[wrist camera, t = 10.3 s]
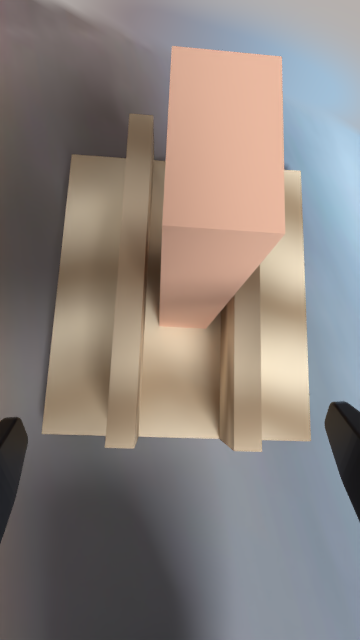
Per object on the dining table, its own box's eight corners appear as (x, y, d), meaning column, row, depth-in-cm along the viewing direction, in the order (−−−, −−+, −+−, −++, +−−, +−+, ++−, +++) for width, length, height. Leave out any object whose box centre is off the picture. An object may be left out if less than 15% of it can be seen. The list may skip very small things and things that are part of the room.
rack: (301, 438, 19) (346, 453, 15) (48, 430, 19) (13, 445, 14) (293, 182, 22) (328, 129, 18) (76, 167, 22) (54, 107, 17)
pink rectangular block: (206, 328, 19) (285, 233, 7) (159, 326, 19) (162, 225, 7) (208, 252, 20) (281, 56, 8) (163, 249, 20) (171, 45, 8)
